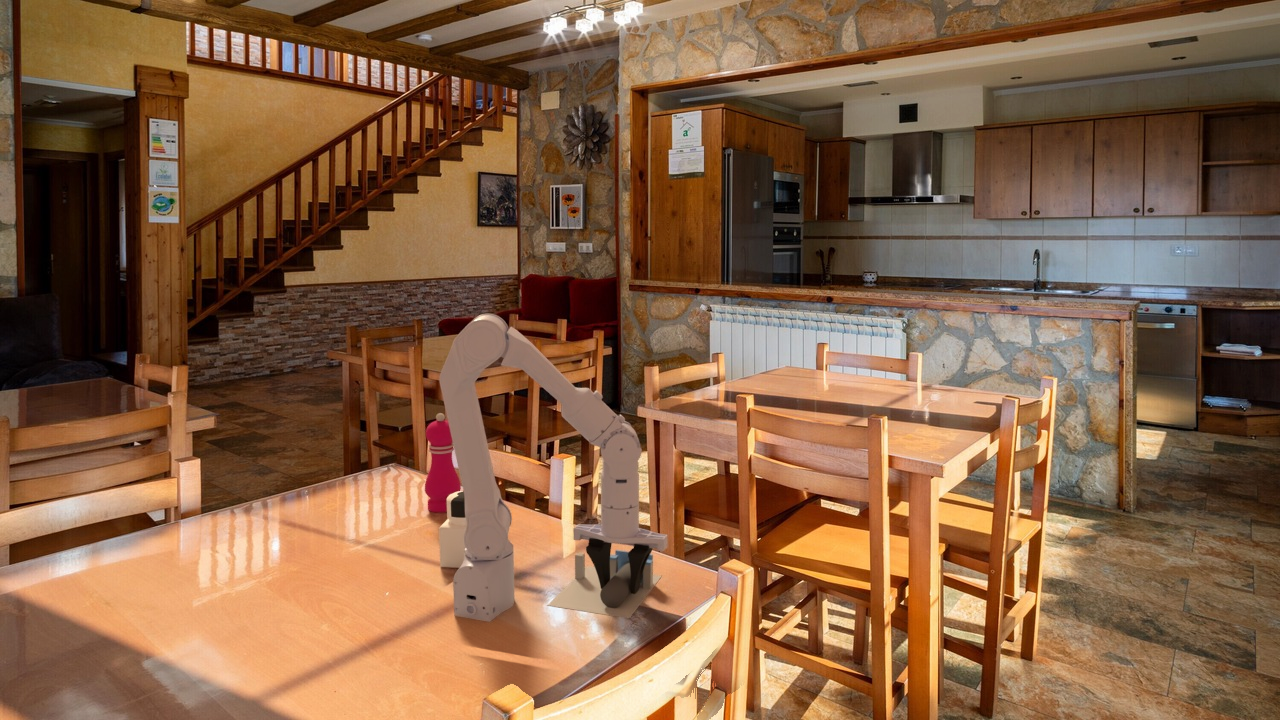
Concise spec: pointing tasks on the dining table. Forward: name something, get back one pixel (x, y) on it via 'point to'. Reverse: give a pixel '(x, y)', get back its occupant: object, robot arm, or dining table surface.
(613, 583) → the dark brown cylinder post
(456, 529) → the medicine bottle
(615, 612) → the base plate with posts
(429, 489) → the pepper mill
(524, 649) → the dining table surface
